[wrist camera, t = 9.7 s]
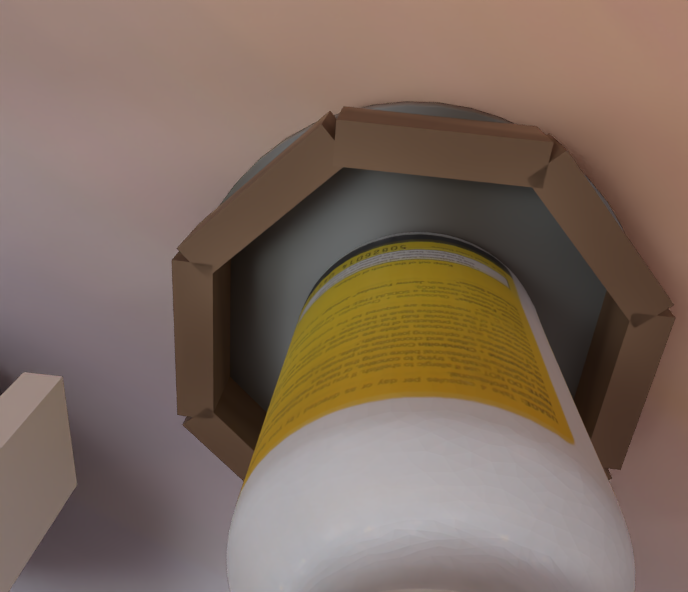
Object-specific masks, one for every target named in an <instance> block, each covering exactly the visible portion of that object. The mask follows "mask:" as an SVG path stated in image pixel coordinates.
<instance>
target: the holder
mask: <svg viewBox="0 0 688 592" xmlns="http://www.w3.org/2000/svg"><path fill="white" fill-rule="evenodd" d="M410 232H428V233H437V234H443V235H448V236H452V237H456V238H459V239H462V240H465V241H467V242H470V243H472V244H474V245H476V246H478V247H480V248H482V249H483V250H485V251H487V252H489V253H490V254H492V255H493V256H494V257H496V258H497V259H498V260H500V261H501V262H502V263H503V264H504V265H505V266H507V267H508V268H509V269H510V270H511V272H512V273H513V274H514V275H515V276H516V277H517V279H518V280H519V281H520V283H521V284H522V285H523V287H524V288H525V290H526V292H527V294H528V295H529V297H530V299H531V301H532V303H533V305H534V306H535V309H536V312H537V314H538V317H539V320H540V323H541V325H542V328H543V330H544V333H545V335H546V337H547V340H548V342H549V345H550V347H551V349H552V352H553V354H554V356H555V359H556V361H557V363H558V366H559V368H560V370H561V373H562V375H563V377H564V380H565V382H566V384H567V387H568V389H569V391H570V394H571V396H572V398H573V401H574V403H575V405H576V408H577V410H578V412H579V415H580V417H581V419H582V421H583V424H584V426H585V428H586V431H587V433H588V435H589V438H590V440H591V442H592V444H593V447H594V449H595V451H596V454H597V456H598V458H599V460H600V463H601V465H602V467H603V469H604V472H605V474H606V476H607V478H608V480H610V479H612V477H611V475H610V472H609V470H608V468H610V469H618V470H621V467H622V464H623V461H624V458H625V456H626V453H627V450H628V447H629V445H630V442H631V439H632V436H633V434H634V431H635V428H636V425H637V423H638V420H639V417H640V414H641V412H642V409H643V406H644V403H645V401H646V398H647V395H648V392H649V390H650V387H651V384H652V381H653V378H654V376H655V373H656V370H657V367H658V365H659V362H660V359H661V356H662V354H663V351H664V348H665V345H666V343H667V340H668V337H669V334H670V332H671V329H672V326H673V323H674V321H675V316H674V315H673V314H672V313H671V312H670V311H669V309H668V308H670V307H672V306H673V305H674V304H673V303H672V301H671V300H670V298H669V297H668V295H667V294H666V292H665V291H664V290H663V288H662V287H661V285H660V284H659V282H658V281H657V279H656V278H655V277H654V275H653V274H652V272H651V271H650V269H649V268H648V266H647V265H646V264H645V262H644V261H643V259H642V258H641V256H640V255H639V253H638V252H637V251H636V249H635V248H634V246H633V245H632V243H631V242H630V240H629V239H628V238H627V236H626V235H625V233H624V231H623V229H622V227H621V225H620V223H619V221H618V220H617V218H616V216H615V214H614V213H613V211H612V209H611V208H610V206H609V204H608V202H607V201H606V200H605V199H604V197H603V196H602V195H601V194H600V192H599V191H598V190H597V189H596V187H595V186H594V185H593V184H592V182H591V181H590V180H589V179H588V178H587V177H586V176H585V175H584V174H583V172H582V171H581V170H580V168H579V167H578V165H577V164H576V162H575V161H574V159H573V158H572V157H571V155H570V154H569V152H568V151H567V150H566V149H565V148H564V147H563V146H562V145H561V144H560V143H559V142H558V141H557V140H555V139H554V138H553V137H552V136H551V135H550V134H548V135H545V134H544V133H543V132H542V131H541V130H540V129H539V128H538V127H537V126H527V125H517V124H514V123H511V122H509V121H507V120H505V119H503V118H500V117H497V116H494V115H491V114H488V113H485V112H482V111H478V110H475V109H472V108H467V107H461V106H455V105H450V104H444V103H434V102H397V103H387V104H377V105H371V106H367V107H362V108H354V107H344V106H343V108H342V110H341V112H340V113H339V114H337V115H333V114H332V113H331V111H329V112H328V113H327V114H326V115H324V116H323V117H322V118H321V119H320V120H319V121H317V122H316V123H314V124H312V125H310V126H308V127H306V128H304V129H303V130H301V131H299V132H297V133H295V134H294V135H292V136H290V137H288V138H286V139H285V140H284V141H282V142H281V143H280V144H278V145H277V146H276V147H274V148H273V149H272V150H270V151H269V152H268V153H266V154H265V155H264V156H262V157H261V158H260V159H259V160H258V161H257V162H256V163H255V164H254V165H253V166H252V167H251V168H250V169H249V170H248V171H247V172H246V173H245V174H244V175H243V176H242V177H241V179H240V180H239V181H238V182H237V183H236V184H235V185H234V187H233V188H232V189H231V191H230V192H229V193H228V195H227V196H226V197H225V199H224V200H223V201H222V203H221V204H220V206H219V207H218V208H217V209H215V210H214V211H213V212H212V213H211V214H210V215H209V216H207V217H206V218H205V219H204V220H203V221H202V222H200V223H199V224H198V225H197V226H196V228H195V229H194V230H193V231H192V232H191V233H190V234H189V235H188V236H187V238H186V239H185V240H184V241H183V242H182V243H181V244H180V245H179V246H178V248H177V249H178V250H179V252H178V253H177V255H176V256H175V257H174V258H173V259H172V282H173V310H174V337H175V364H176V391H177V415H181V416H187V417H186V419H185V421H184V423H183V426H184V427H185V428H186V429H187V430H188V431H190V432H191V433H192V434H193V435H194V436H195V437H196V438H197V439H198V440H199V441H200V442H202V443H203V444H204V445H205V446H206V447H207V448H208V449H209V450H210V451H211V452H212V453H214V454H215V455H216V456H217V457H218V458H219V459H220V460H221V461H222V462H223V463H224V464H225V465H227V466H228V467H229V468H230V469H231V470H232V471H233V472H234V473H235V474H236V475H237V476H239V477H240V478H241V479H242V480H243V481H244V480H245V477H246V474H247V471H248V468H249V465H250V462H251V459H252V456H253V453H254V450H255V447H256V444H257V441H258V438H259V435H260V432H261V429H262V426H263V423H264V420H265V417H266V414H267V411H268V408H269V405H270V402H271V399H272V396H273V393H274V390H275V387H276V384H277V381H278V378H279V375H280V372H281V369H282V366H283V364H284V361H285V358H286V355H287V352H288V349H289V346H290V343H291V340H292V337H293V334H294V331H295V328H296V325H297V322H298V319H299V316H300V314H301V311H302V308H303V306H304V304H305V301H306V299H307V297H308V296H309V294H310V292H311V290H312V288H313V287H314V285H315V284H316V282H317V281H318V280H319V278H320V277H321V276H322V275H323V274H324V272H325V271H326V270H327V269H328V268H329V267H330V266H331V265H332V264H333V263H335V262H336V261H337V260H338V259H340V258H341V257H342V256H344V255H345V254H347V253H348V252H349V251H351V250H353V249H355V248H357V247H358V246H360V245H363V244H365V243H367V242H369V241H372V240H375V239H378V238H381V237H385V236H389V235H394V234H400V233H410Z"/></svg>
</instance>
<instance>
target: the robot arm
mask: <svg viewBox="0 0 688 592" xmlns="http://www.w3.org/2000/svg"><path fill="white" fill-rule="evenodd" d="M76 486H77V480H76V472H75V465H74V457H73V450H72V443H71V435H70V428H69V420H68V413H67V405H66V398H65V391H64V383H63V376H54V375H45V374H36V373H27V372H23V373H22V374H21V375H20V376H19V377H18V379H17V380H16V381H15V382H14V383H13V384H12V385H11V386H10V387H9V388H8V389H7V390H6V391H5V392H4V393H3V394H2V395H1V396H0V592H9V590H10V589H11V587H12V586H13V584H14V583H15V581H16V580H17V578H18V576H19V575H20V573H21V572H22V570H23V569H24V567H25V566H26V564H27V562H28V561H29V559H30V558H31V556H32V555H33V553H34V551H35V550H36V548H37V547H38V545H39V544H40V542H41V541H42V539H43V537H44V536H45V534H46V533H47V531H48V530H49V528H50V527H51V525H52V523H53V522H54V520H55V519H56V517H57V516H58V514H59V512H60V511H61V509H62V508H63V506H64V505H65V503H66V502H67V500H68V498H69V497H70V495H71V494H72V492H73V491H74V489H75V488H76Z"/></svg>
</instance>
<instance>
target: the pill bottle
mask: <svg viewBox="0 0 688 592" xmlns="http://www.w3.org/2000/svg"><path fill="white" fill-rule="evenodd" d="M226 564H227V578H228V584H229V589H230V592H634V591H635V562H634V554H633V548H632V542H631V538H630V535H629V532H628V528H627V525H626V522H625V519H624V517H623V514H622V511H621V508H620V506H619V503H618V500H617V498H616V496H615V494H614V491H613V489H612V487H611V485H610V483H609V481H608V478H607V476H606V474H605V472H604V469H603V467H602V465H601V463H600V460H599V458H598V456H597V454H596V451H595V449H594V447H593V444H592V442H591V440H590V438H589V435H588V433H587V431H586V428H585V426H584V424H583V421H582V419H581V417H580V415H579V412H578V410H577V408H576V405H575V403H574V401H573V398H572V396H571V394H570V391H569V389H568V387H567V384H566V382H565V380H564V377H563V375H562V373H561V370H560V368H559V366H558V363H557V361H556V359H555V356H554V354H553V352H552V349H551V347H550V345H549V342H548V340H547V337H546V335H545V333H544V330H543V328H542V325H541V323H540V320H539V317H538V314H537V312H536V309H535V306H534V305H533V303H532V301H531V299H530V297H529V295H528V294H527V292H526V290H525V288H524V287H523V285H522V284H521V283H520V281H519V280H518V279H517V277H516V276H515V275H514V274H513V273H512V272H511V270H510V269H509V268H508V267H507V266H505V265H504V264H503V263H502V262H501V261H500V260H498V259H497V258H496V257H494V256H493V255H492V254H490V253H489V252H487V251H485V250H483V249H482V248H480V247H478V246H476V245H474V244H472V243H470V242H467V241H465V240H462V239H459V238H456V237H452V236H448V235H443V234H437V233H428V232H410V233H400V234H394V235H389V236H385V237H381V238H378V239H375V240H372V241H369V242H367V243H365V244H363V245H360V246H358V247H357V248H355V249H353V250H351V251H349V252H348V253H347V254H345V255H344V256H342V257H341V258H340V259H338V260H337V261H336V262H335V263H333V264H332V265H331V266H330V267H329V268H328V269H327V270H326V271H325V272H324V274H323V275H322V276H321V277H320V278H319V280H318V281H317V282H316V284H315V285H314V287H313V288H312V290H311V292H310V294H309V296H308V297H307V299H306V301H305V304H304V306H303V308H302V311H301V314H300V316H299V319H298V322H297V325H296V328H295V331H294V334H293V337H292V340H291V343H290V346H289V349H288V352H287V355H286V358H285V361H284V364H283V366H282V369H281V372H280V375H279V378H278V381H277V384H276V387H275V390H274V393H273V396H272V399H271V402H270V405H269V408H268V411H267V414H266V417H265V420H264V423H263V426H262V429H261V432H260V435H259V438H258V441H257V444H256V447H255V450H254V453H253V456H252V459H251V462H250V465H249V468H248V471H247V474H246V477H245V480H244V483H243V486H242V489H241V492H240V495H239V497H238V500H237V504H236V507H235V510H234V513H233V517H232V521H231V525H230V529H229V533H228V541H227V556H226Z"/></svg>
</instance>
